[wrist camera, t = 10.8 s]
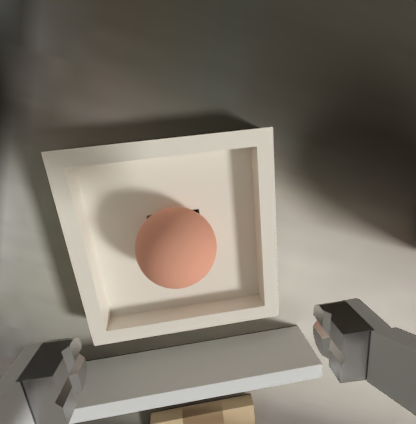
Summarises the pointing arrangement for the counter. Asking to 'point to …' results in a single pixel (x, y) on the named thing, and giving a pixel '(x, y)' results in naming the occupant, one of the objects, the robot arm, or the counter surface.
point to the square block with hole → (210, 413)
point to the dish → (157, 200)
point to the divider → (195, 372)
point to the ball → (175, 247)
